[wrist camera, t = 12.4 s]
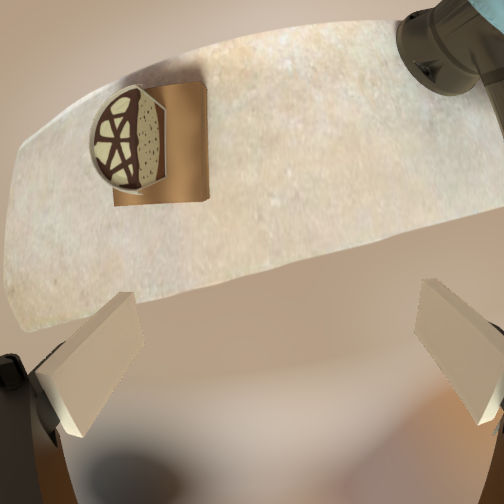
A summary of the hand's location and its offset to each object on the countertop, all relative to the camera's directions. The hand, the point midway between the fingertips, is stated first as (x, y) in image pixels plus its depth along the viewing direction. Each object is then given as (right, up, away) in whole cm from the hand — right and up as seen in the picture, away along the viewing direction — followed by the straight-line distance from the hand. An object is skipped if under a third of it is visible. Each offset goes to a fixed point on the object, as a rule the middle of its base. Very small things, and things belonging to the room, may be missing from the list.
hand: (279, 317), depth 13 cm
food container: (-15, +17, +24) cm, 33 cm away
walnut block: (-14, +18, +29) cm, 37 cm away
